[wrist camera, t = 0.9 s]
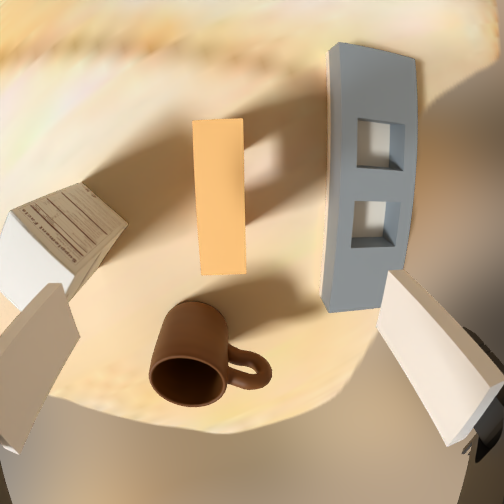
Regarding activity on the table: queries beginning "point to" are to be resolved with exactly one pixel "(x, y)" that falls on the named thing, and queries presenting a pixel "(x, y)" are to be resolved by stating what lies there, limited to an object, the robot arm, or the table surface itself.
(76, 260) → the supplement box
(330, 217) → the rail
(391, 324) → the robot arm
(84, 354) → the table surface
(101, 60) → the table surface
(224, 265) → the tall wooden block
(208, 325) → the mug
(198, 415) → the table surface
